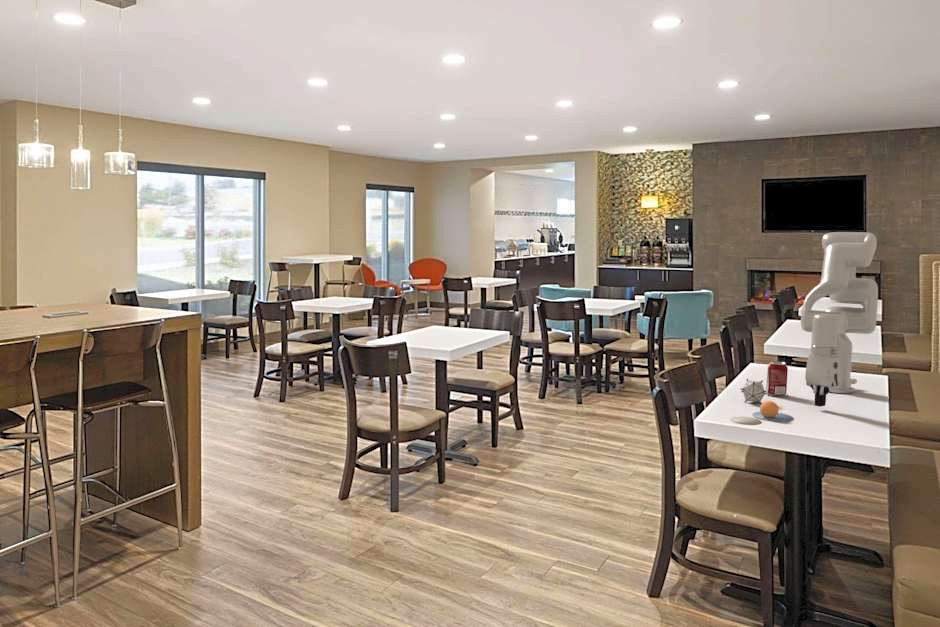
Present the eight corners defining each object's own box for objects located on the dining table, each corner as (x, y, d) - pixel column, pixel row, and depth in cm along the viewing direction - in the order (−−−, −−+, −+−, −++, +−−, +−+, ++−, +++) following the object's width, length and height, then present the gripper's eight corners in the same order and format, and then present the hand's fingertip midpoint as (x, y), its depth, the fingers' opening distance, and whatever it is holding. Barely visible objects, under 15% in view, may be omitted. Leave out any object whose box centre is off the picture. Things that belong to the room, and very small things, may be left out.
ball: (755, 401, 230) (756, 417, 231) (769, 405, 225) (770, 421, 226) (767, 397, 232) (768, 413, 233) (781, 400, 227) (782, 417, 228)
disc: (770, 410, 238) (770, 410, 238) (801, 419, 228) (801, 418, 228) (744, 414, 233) (744, 413, 233) (774, 423, 222) (774, 422, 222)
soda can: (788, 397, 258) (790, 364, 257) (767, 396, 259) (769, 363, 258) (783, 393, 265) (785, 361, 263) (764, 392, 266) (766, 360, 265)
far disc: (744, 415, 231) (744, 415, 231) (767, 422, 223) (767, 422, 223) (723, 418, 227) (724, 418, 227) (746, 425, 219) (746, 425, 219)
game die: (746, 412, 251) (732, 386, 255) (768, 403, 252) (754, 378, 256) (752, 405, 243) (738, 378, 247) (776, 396, 244) (761, 370, 248)
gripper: (851, 354, 233) (847, 409, 235) (811, 347, 246) (808, 399, 248) (836, 355, 230) (832, 411, 232) (796, 348, 243) (793, 402, 245)
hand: (819, 405), depth 240 cm, fingers closed
